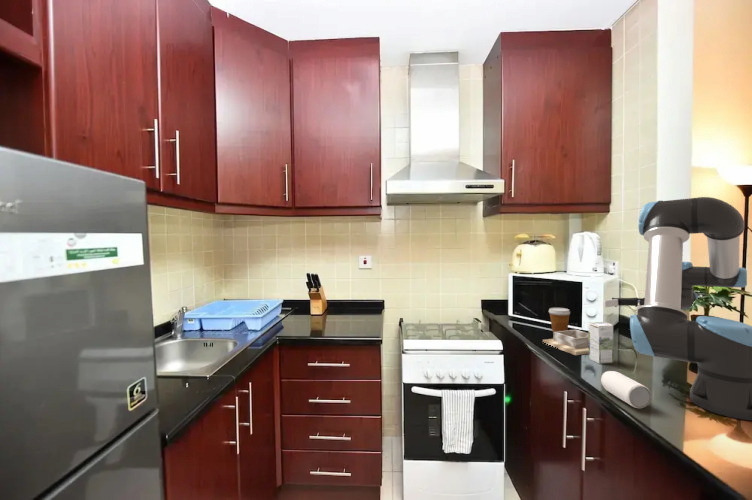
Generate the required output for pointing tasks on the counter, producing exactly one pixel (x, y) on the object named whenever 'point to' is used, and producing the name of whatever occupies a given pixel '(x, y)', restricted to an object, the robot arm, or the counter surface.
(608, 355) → the syrup box
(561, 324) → the disposable coffee cup
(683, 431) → the counter surface
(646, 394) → the can
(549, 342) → the stand
